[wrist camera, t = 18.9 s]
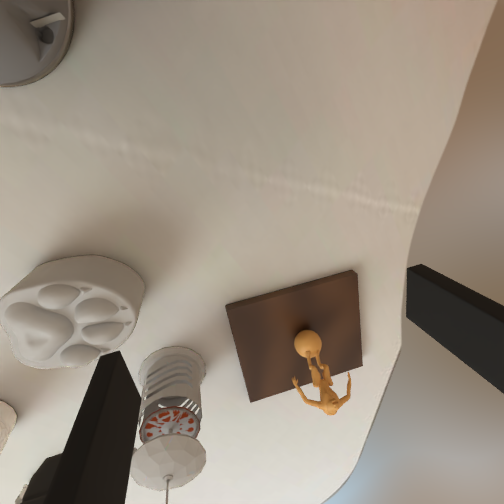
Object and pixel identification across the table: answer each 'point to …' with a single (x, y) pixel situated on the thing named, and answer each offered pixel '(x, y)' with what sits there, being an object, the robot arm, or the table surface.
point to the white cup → (6, 423)
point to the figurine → (318, 374)
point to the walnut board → (289, 325)
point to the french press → (169, 420)
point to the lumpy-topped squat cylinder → (71, 311)
